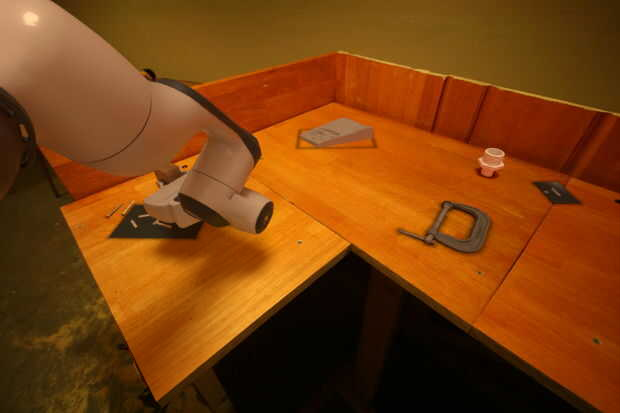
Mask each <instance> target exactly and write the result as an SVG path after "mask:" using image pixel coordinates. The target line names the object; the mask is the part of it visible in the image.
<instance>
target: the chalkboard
mask: <svg viewBox="0 0 620 413" xmlns="http://www.w3.org/2000/svg"><path fill="white" fill-rule="evenodd" d="M203 223H204V221H199V222H196V223H194V224H192V225H190V226H188V227H185V228H181V227H179V226H178V225H177V223H176V222H174V223H167V222H164V221H161V220H158V219H156V218H154V217H152V216H150V215H149V214H148V213H147V212H146V210H145V208H144V205H143V204H134V205H133V206H132V207H131V208H130V209H129V211H128V212H127V213H126V215H125V216H124V217H123V218H122V220H121V221H120V222H119V224H118V225H117V226H115V229H113V231H112V232H111V234H110V235H109V236H108V238H109V239H178V240H179V239H183V240H184V239H187V240H188V239H189V240H190V239H191V240H192V239H193V240H194V239H196V238H197V237H198V235H199V232H200V230H201V228H202V225H203Z"/></svg>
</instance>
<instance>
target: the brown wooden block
mask: <svg viewBox="0 0 620 413" xmlns="http://www.w3.org/2000/svg"><path fill="white" fill-rule="evenodd" d="M180 170H181V168H180V166H179V165H178V164H175V163H172V162H171V161H170V162H169V163H168V164H166V165H165V166H163V167H161V168H160V169H158V170H155V171H153V173H154V176H155V178H156V181H159V180H161V179H162V180H165V181H166V184H167V185H168V184H170V183H171V182H173V181H175V180H176V179H178V178H180V177H181V176H182V174H181V171H180Z"/></svg>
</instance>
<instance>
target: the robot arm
mask: <svg viewBox="0 0 620 413" xmlns="http://www.w3.org/2000/svg"><path fill="white" fill-rule="evenodd" d="M199 132H202V133H204V134H205V135H206V139H205V142H204V145H203V146H202V148H201V150H200V152H199V154H198V156H197V157H196V159H195V161H194V163H193V165H192V167H191V168H190V169H185V170H182V169H180V171H181V174H182V176H181V177H180V178H178V179H176V180H175V181H173V182H171V183H170V184H168V185H167V184H166V181H165V180H162V179H161V180H159V181H158V180H156V181H155V185H156V187H157V188H158V190H156V191H155V192H153V193H152V194H149V195H148V196H147V197H145V198H144V199H142V205H144V208H145V210H146V212H147V213H148V214H149V215H150V216H152V217H154V218H156V219H158V220H161V221H164V222H167V223H174V222H176V223H177V225H178V226H179V227H181V228H185V227H188V226H190V225H192V224H194V223H196V222H199V221H203V223H206V224H208V225H210V226H211V227H214V228H217V229H219V228H226V227H229V228H232V229H235V230H237V231H240V232H244V233H247V234H251V235H260V234H262V233H263V232H264V231H265V230H266V229H267V227H268V226H269V224H270V222H271V220H272V218H273V215H274V210H275V208H274V207H275V206H274V202H273V200H272V199H270V198H269V197H267V196H266V195H264V194H262V193H260V192H258V191H256V190H255V189H252V188H249V187H246V186H245V185H246V183H247V182H248V180H249V177H250V175H251V174H252V173H253V172H252V171H253V170H254V169H255V168H256V166H257V164H258V163H259V161H260V159H261V158H262V156H263V155H262V149H261V145H260V142H259V140H258V138H257V137H256V136H255V135H253V134H252V133H251V132H250V131H248V130H247V129H245V128H243V127H242V126H240V125H239V124H238V123H237V122H235V121H234V120H233V119H232V118H230V116H228V115H227V114H226V113H224V112H223V111H222V110H221V109H220V108H219V107H218V106H217V105H215V104H214V103H213V102H212V101H211V100H210V99H209V98H207V97H205V95H203V94H202V93H200V92H199V91H197V90H196V89H194V88H192V87H191V86H189V85H188V84H185V83H183V82H180V81H178V80H175V79H173V78H168V77H162V78H160V79H157V80H154V81H151V80H149V79H147V78H146V77H145V76H144V75H143V73H142V72H140V71H139V70H138V69H137V68H136V67H135V66H134V65H133V63H131V61H129V59H127V58H126V57H125V56H124V55H122V54H121V52H119V51H118V50H117V49H115V47H113V46H112V45H111V44H110V43H109V42H107V41H106V39H104V38H103V37H101V36H100V35H99V34H98V33H96V32H95V31H94V30H93V29H91V28H90V27H88V25H86V24H85V23H83V22H82V21H81V20H79V19H78V18H77V17H76V16H74V15H72V14H71V13H70V12H68V11H67V10H65V9H64V8H63V7H61V6H60V5H59V4H57V3H55V2H54V1H52V0H0V201H1V200H2V199H3V198H4V197H5V196H6V195H7V193H8V192H9V190H10V189H11V187H12V186H13V184H14V181H15V179H18V178H19V177H20V176H23V175H24V174H26V173H27V172H28V171H29V170H31V168H32V167H33V164H34V161H35V158H36V154H37V146H40V147H43V148H45V149H47V150H49V151H51V152H54V153H55V154H58V155H60V156H62V157H63V158H66V159H68V160H70V161H72V162H74V163H77V164H80V165H82V166H84V167H86V168H89V169H92V170H95V171H98V172H100V173H104V174H106V175H107V174H108V175H110V176H115V177H120V178H132V177H141V176H144V175H147V174H151V173H154V171H155V170H158V169H160V168H161V167H163V166H165V165H166V164H168V163H169V162H170V163H171V161H172V160H173V159H175V157H177V156H178V155H179V153H180V152H181V151H182V149H184V147H185V146H186V145H187V144H188V143H189V142H190V140H192V139H193V138H194V136H196V134H198V133H199ZM26 151H28V152H27V155H26V157H25V159H24V160H23V157H24V153H25V152H26Z"/></svg>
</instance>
